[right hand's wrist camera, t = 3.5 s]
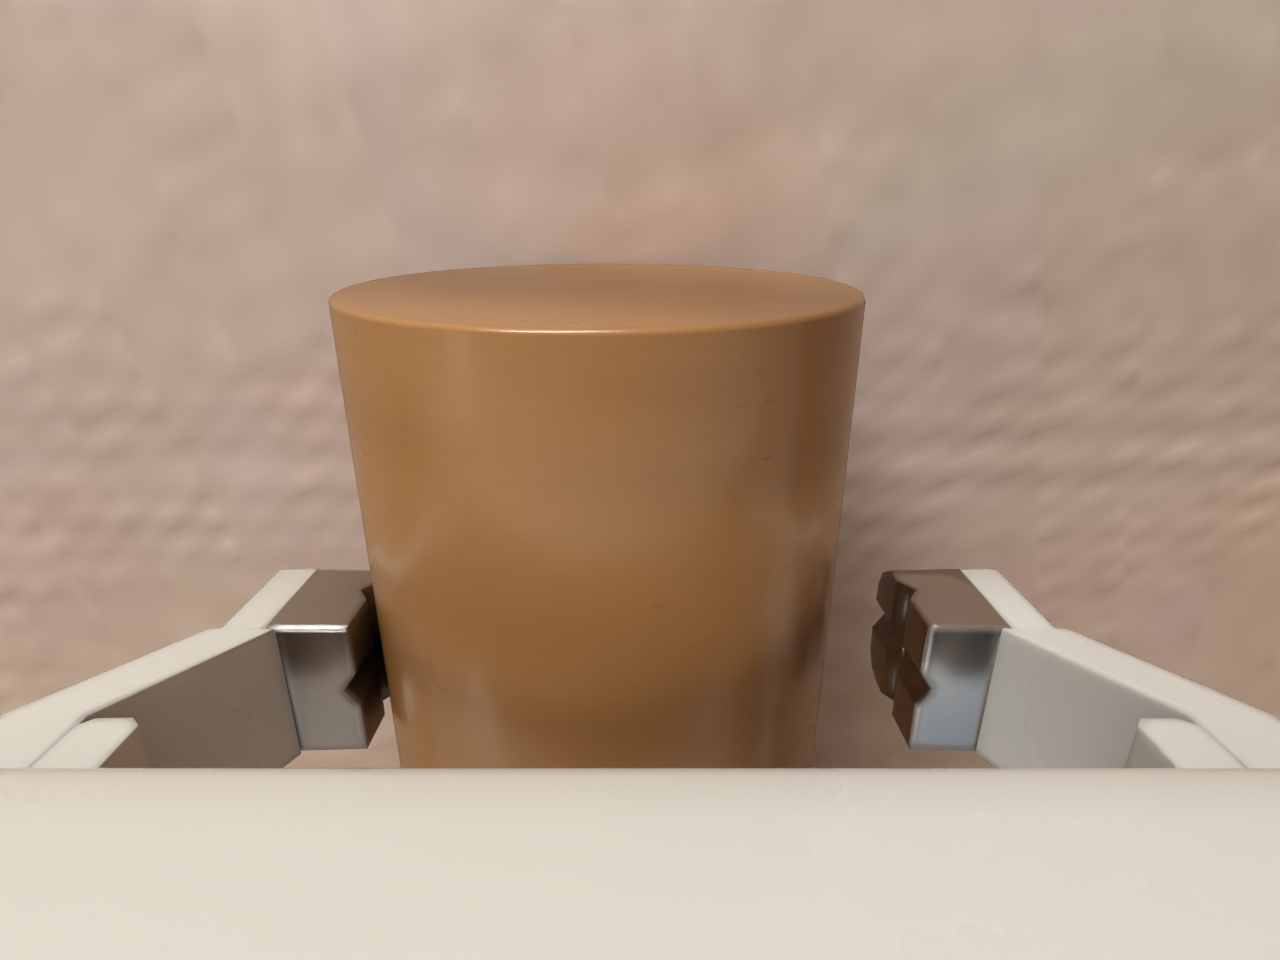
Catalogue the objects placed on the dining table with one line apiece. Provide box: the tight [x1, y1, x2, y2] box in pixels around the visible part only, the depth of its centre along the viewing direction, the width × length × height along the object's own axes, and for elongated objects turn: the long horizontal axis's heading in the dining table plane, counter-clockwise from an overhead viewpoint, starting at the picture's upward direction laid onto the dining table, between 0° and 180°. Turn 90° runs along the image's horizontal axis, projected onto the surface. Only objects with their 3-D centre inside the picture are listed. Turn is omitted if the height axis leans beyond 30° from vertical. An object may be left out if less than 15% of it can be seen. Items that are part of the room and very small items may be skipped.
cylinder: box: [329, 264, 865, 768], centre depth 13 cm, size 23×6×6 cm, turn 0°
